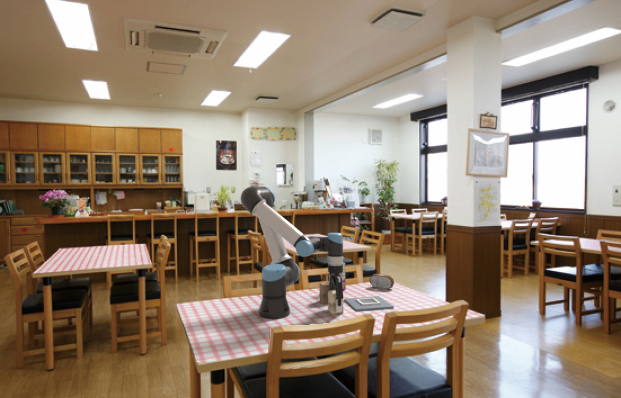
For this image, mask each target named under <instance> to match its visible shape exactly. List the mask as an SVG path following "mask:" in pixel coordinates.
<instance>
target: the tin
mask: <svg viewBox="0 0 621 398" xmlns="http://www.w3.org/2000/svg"><path fill="white" fill-rule="evenodd" d="M369 284H370V285H371V287H373V288H376V289H382V290H389V289H390V290H391V289H392V288H393V287H394V286H395V285H394V284H395V280H394V278H393V277H392V276H391V275H388V274H382V273H374V274H372V275H371V276H370V278H369Z"/></svg>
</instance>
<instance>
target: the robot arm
mask: <svg viewBox="0 0 621 398" xmlns="http://www.w3.org/2000/svg"><path fill="white" fill-rule="evenodd" d="M275 201H276V195H275V193H274V192H273V190H272V189H271V188H269V187H266V186H262V185H260V186H248V187H246V188H244V189H243V190H242V192H241V195H240V203H241V205H242V207H243V208H244V209H245V210H246V211H247V212H248V213H249V214H250V215H252V216H256V217H257V218H258V221H259V223H260V227H261V230H262V233H263V237H264V239H265V242H266V246H267V248H268V251H269V254H270V257H271V260H272V261H271V263H270V264H267V265H265V266H264V267H263V268H262V269H261V270H262V271H261V272H262V273H261V286H262V287H261V290H262V291H261V295H262V296H261V301H260V305H259V308H258V315H259V316H260V317H262V318H264V319H281V318H286V317H288V316H289V315H290V314H291V307H290V305H289V302H288V299H287V287H290V286H293V285H294V284H296V282H297V281H298V280H299V278H300V274H301V272H300V271H301V270H300V267H299V265H298V264H297V263H295V262H294V260H293V257H292V256H291V255H289V254H288V251H287V248H286V246H285V245H286V244H285V242H284V240H285V241H286V242H288V243H289V244H290V245H291V246H292V247H293V248H295V250H296V254H297V255H298V256H300V257H303V258H305V257H309V256H311V255H312V254H316V253H327V264H328V265H327V272H328V275H329V274H330V278H329V277H328V282H329V291H330V290H336V297H337V298H335V299H336V313H338V314H340V313H339V312H342V299H343V300H344V291H343V288H342V278H340V275H339V274H340V273H342V272H343V265H342V264H343V263H344V259H345V257H344V240H343V239H344V238H343V234H342V233H340V232H329V233H327V236H313V235H310V236H307V235H305V234H303V233H302V232H301V230H299V229H298V228H297V227H295V226H294V225H293V224H292V223H290V222H289V221H288V220H287V219H285V217H283V215H281V214H279V213H278V212H277V211H276V206H275Z"/></svg>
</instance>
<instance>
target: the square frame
mask: <svg viewBox="0 0 621 398" xmlns="http://www.w3.org/2000/svg"><path fill="white" fill-rule="evenodd" d="M363 300H373V301H375V302H376V303H362V302H361V301H363ZM356 301H357V302H358V303H360V304H361V305H362V306H365V305H378V304H381V303H380V302H379V301H378V300H376V299H375V298H363V299H356Z"/></svg>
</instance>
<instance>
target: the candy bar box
mask: <svg viewBox="0 0 621 398" xmlns="http://www.w3.org/2000/svg"><path fill="white" fill-rule="evenodd" d="M342 265H343V272H342V273H340V274H339V275H340V278H342V288H343V292H344V291H346V289H347V288H346V263H345V262H343V264H342ZM329 278H330V274H329V273H328V279H329Z"/></svg>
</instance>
